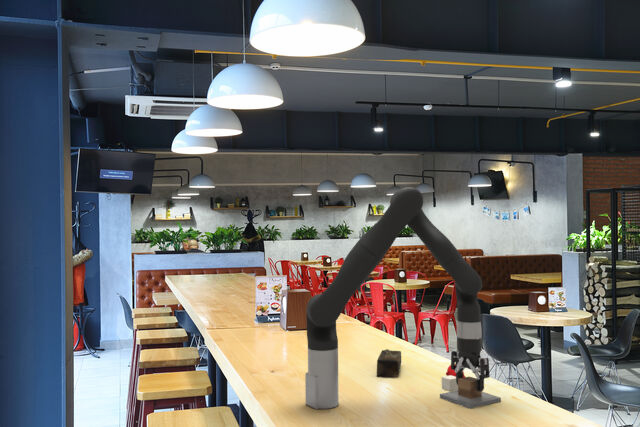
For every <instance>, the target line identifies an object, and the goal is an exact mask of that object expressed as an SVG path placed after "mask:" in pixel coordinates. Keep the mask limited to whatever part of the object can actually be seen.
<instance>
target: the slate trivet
mask: <svg viewBox="0 0 640 427" xmlns="http://www.w3.org/2000/svg"><path fill="white" fill-rule="evenodd" d="M439 399H442V400H444V401H445V400H446V401H447V400H448V401H447V402H449V403H453V402H454V404H455V405H458V404H459V405H458V406H461V405H462V407H464V408H467V409H469V408H470V409H474V407H475V408H478V407H483V405H484V406H487V405H492V404H496V403H500V402H502V397H500V396H497V395H493V394H490V393H488V392H484V391H482V396H480V397H476V398H471V399H469V398H466V397H463V396H460V395H458V390H456V391H451V392H450V391H447V392H443V393H440V394H439Z"/></svg>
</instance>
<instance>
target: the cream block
mask: <svg viewBox="0 0 640 427" xmlns="http://www.w3.org/2000/svg"><path fill="white" fill-rule="evenodd" d="M441 390H444V391H447V392H452V391H457V390H458V385H457V382H456V377H455V376H452V375H449V376H447V375H444V376H441Z"/></svg>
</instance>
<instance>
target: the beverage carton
mask: <svg viewBox="0 0 640 427" xmlns="http://www.w3.org/2000/svg"><path fill="white" fill-rule="evenodd" d="M401 365H402V351H401V350H390V349H388V348H386V349H382V350H381V351H380V353H379V355H378V358H377V360H376V377H378V378H391V379H393V378H394V379H395V378H396V379H397V378H398V377H399V375H400V372H401Z"/></svg>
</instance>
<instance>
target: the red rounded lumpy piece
mask: <svg viewBox="0 0 640 427" xmlns="http://www.w3.org/2000/svg"><path fill="white" fill-rule="evenodd" d="M462 373H463V378H464V377H466V375H465V372H464V371H463V372H462ZM449 375H452V376H455V377H456V373H455V371H454V370H452V369H451V364H450V365H449V366H448V367H447V368H446V373H445V376H449Z"/></svg>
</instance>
